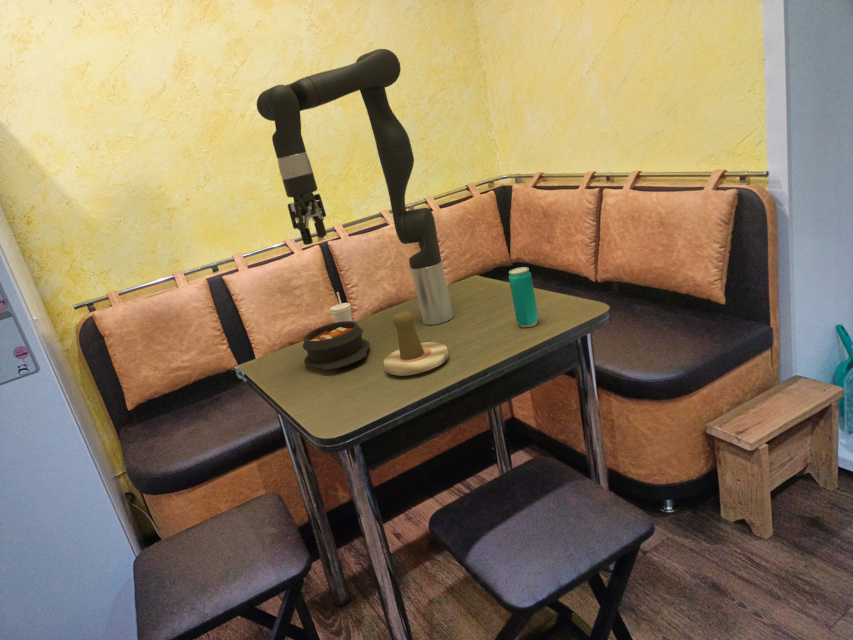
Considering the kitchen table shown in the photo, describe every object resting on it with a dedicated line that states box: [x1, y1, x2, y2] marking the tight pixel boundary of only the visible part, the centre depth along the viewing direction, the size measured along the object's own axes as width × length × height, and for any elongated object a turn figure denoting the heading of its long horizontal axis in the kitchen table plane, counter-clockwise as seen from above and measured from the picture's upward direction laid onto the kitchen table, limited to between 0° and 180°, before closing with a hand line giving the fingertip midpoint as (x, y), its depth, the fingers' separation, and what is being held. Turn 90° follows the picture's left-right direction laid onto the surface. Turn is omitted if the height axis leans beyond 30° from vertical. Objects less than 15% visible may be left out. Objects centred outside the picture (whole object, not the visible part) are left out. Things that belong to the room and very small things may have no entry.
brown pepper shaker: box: [392, 311, 424, 360], centre depth 146 cm, size 6×6×11 cm
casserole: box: [302, 320, 371, 371], centre depth 164 cm, size 25×19×8 cm
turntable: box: [383, 341, 449, 376], centre depth 148 cm, size 16×16×3 cm
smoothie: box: [330, 291, 353, 323], centre depth 181 cm, size 6×6×14 cm
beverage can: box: [508, 266, 539, 329], centre depth 155 cm, size 6×6×15 cm
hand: (315, 240), depth 148 cm, fingers open, 8 cm apart
